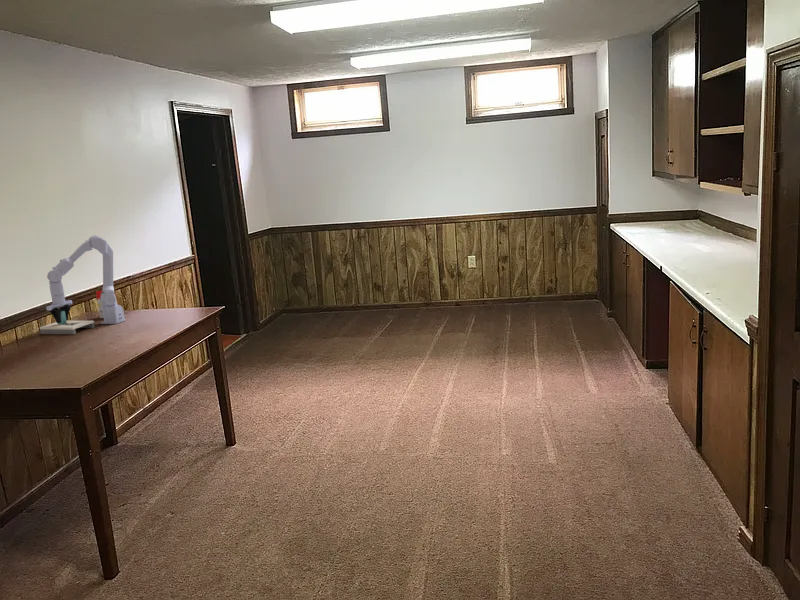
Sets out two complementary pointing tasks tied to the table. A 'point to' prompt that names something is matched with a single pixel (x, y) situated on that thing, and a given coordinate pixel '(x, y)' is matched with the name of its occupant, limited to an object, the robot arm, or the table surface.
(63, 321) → the peg
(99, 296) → the ink box
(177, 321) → the table surface
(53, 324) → the board
